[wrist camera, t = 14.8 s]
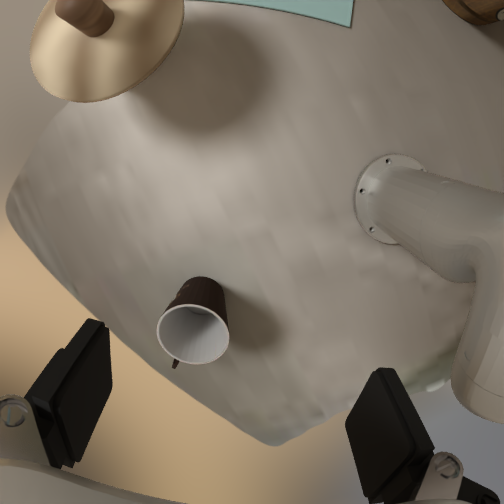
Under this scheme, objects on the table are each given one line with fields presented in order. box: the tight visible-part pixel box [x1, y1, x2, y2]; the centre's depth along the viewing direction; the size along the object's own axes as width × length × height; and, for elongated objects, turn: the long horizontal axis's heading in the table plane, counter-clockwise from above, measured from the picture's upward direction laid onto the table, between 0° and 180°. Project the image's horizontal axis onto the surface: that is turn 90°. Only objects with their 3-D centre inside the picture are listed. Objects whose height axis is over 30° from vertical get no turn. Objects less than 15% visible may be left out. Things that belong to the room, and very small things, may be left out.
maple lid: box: [30, 0, 184, 103], centre depth 20 cm, size 17×17×7 cm
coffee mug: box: [157, 277, 229, 369], centre depth 41 cm, size 12×9×10 cm
